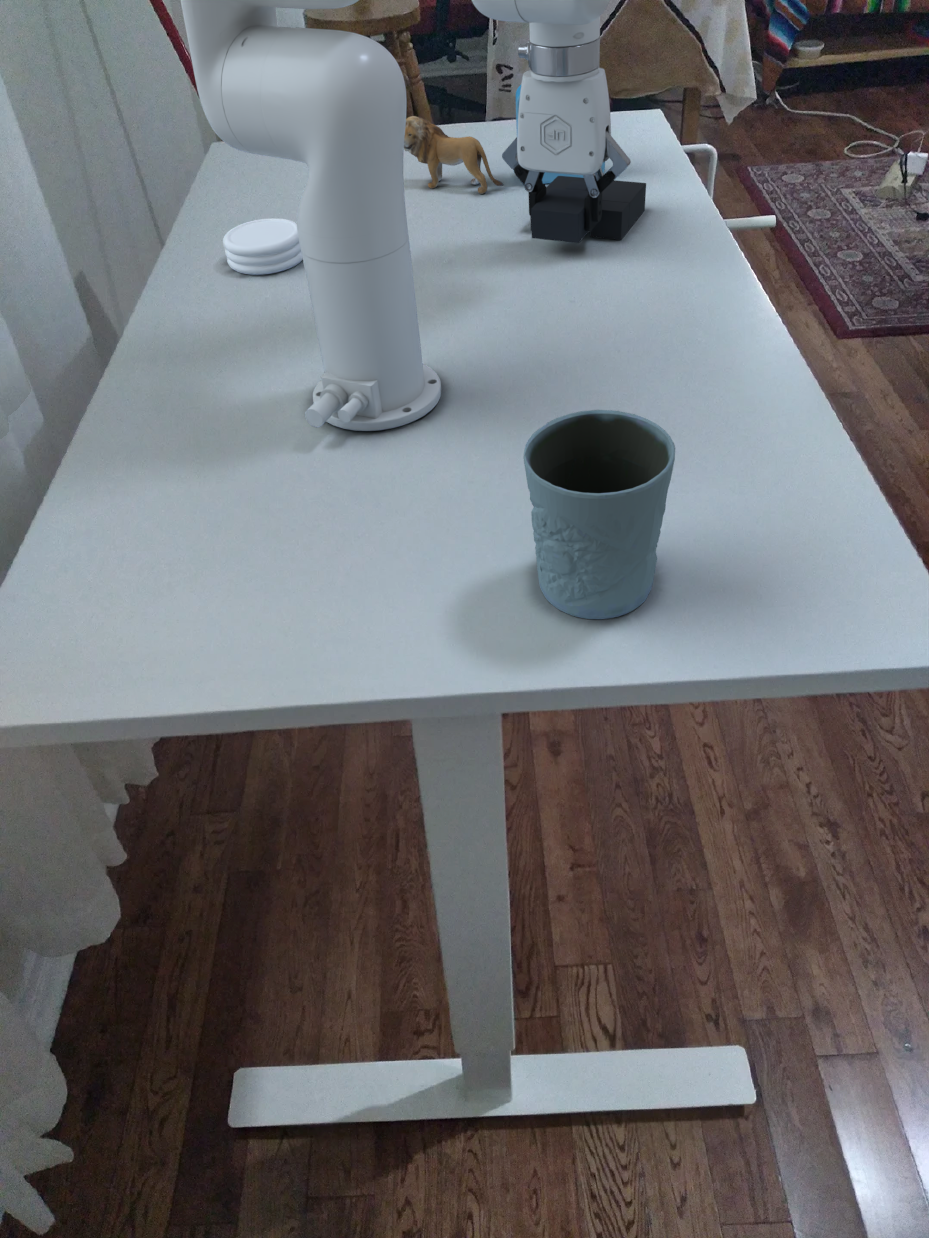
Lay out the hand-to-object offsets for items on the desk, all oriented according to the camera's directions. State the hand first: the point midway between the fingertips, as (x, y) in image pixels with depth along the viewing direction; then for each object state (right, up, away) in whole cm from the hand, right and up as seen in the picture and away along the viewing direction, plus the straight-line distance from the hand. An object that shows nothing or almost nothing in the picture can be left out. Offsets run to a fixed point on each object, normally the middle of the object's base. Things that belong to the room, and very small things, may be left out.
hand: (565, 223), depth 117 cm
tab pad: (+1, 0, +1) cm, 2 cm away
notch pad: (+4, +3, +8) cm, 9 cm away
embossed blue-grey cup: (-2, -45, -44) cm, 63 cm away
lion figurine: (-14, +13, +20) cm, 28 cm away
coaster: (-37, -3, +6) cm, 38 cm away
